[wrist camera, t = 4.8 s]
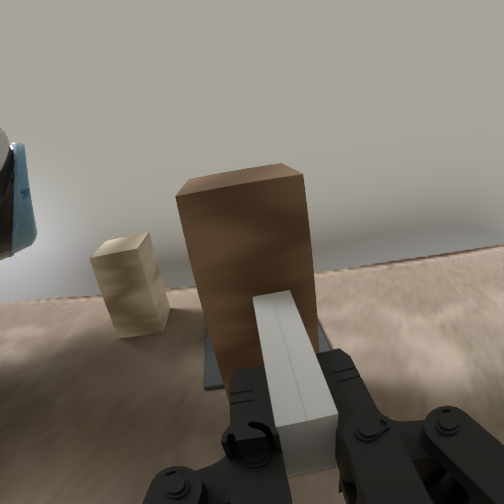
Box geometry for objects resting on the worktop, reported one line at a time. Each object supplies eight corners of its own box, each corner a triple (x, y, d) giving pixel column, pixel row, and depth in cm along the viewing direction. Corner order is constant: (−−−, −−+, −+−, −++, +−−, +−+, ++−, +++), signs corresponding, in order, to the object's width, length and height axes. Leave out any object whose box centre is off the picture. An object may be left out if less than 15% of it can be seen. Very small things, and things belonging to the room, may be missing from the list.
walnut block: (242, 442, 18) (175, 196, 12) (238, 389, 22) (188, 179, 17) (322, 427, 18) (302, 174, 12) (305, 377, 22) (281, 163, 17)
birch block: (119, 338, 31) (89, 258, 28) (130, 313, 35) (106, 240, 32) (163, 332, 31) (137, 248, 28) (170, 307, 36) (148, 232, 32)
